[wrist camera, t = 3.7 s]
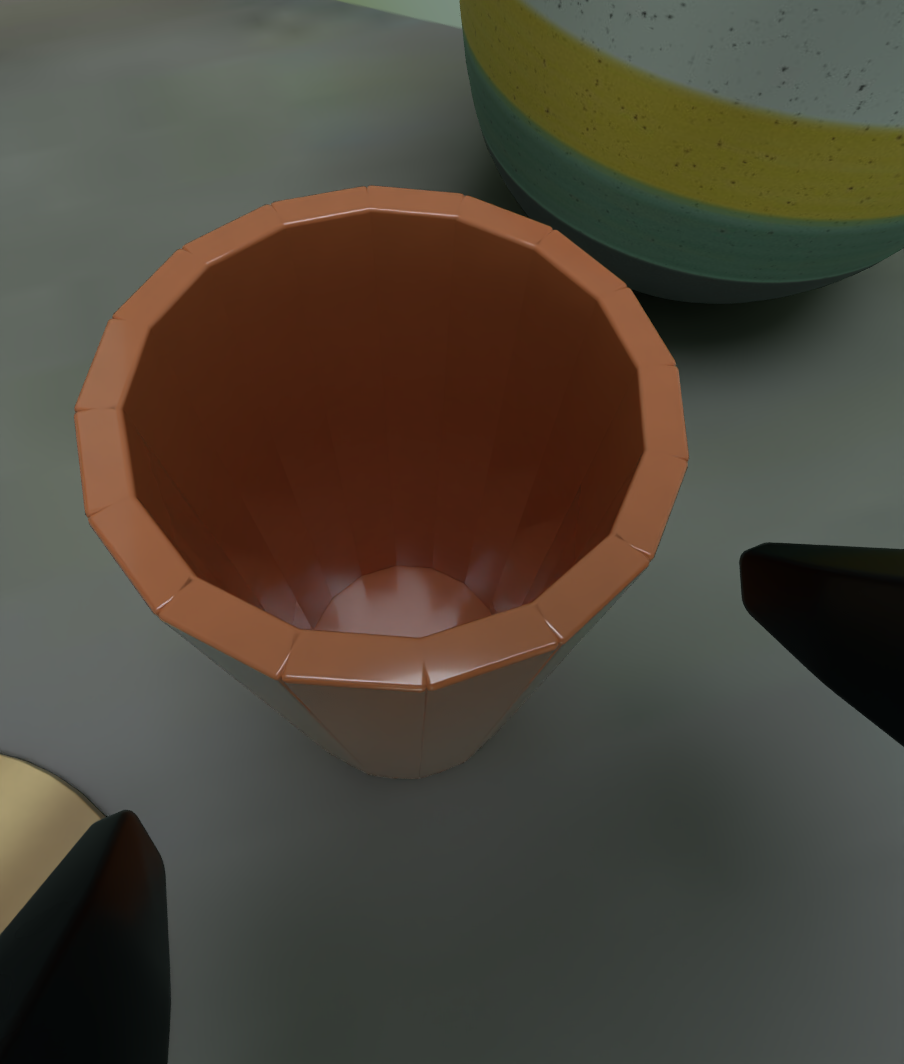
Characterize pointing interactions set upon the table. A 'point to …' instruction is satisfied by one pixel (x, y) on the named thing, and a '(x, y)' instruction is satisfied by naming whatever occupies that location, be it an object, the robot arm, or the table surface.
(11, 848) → the beige flat disc
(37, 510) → the table surface
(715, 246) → the planter
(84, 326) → the table surface
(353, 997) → the table surface
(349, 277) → the terracotta pot
